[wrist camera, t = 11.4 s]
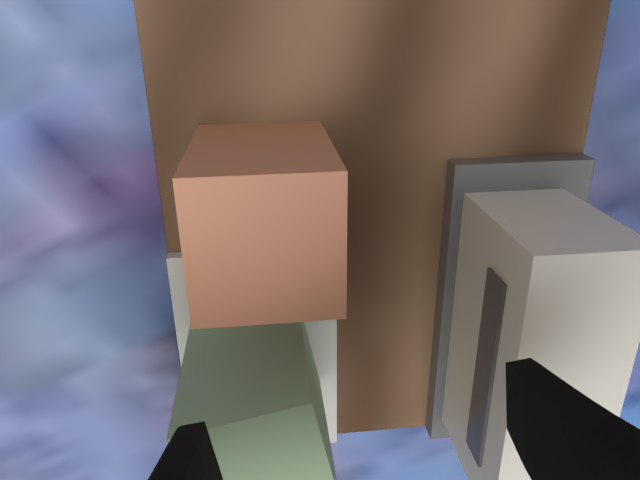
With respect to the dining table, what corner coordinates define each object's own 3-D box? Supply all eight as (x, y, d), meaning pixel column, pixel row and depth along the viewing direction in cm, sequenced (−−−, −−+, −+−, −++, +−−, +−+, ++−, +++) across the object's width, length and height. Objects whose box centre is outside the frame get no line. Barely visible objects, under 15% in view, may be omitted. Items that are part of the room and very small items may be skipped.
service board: (631, -219, 16) (653, -232, 15) (524, 401, 25) (534, 416, 24) (109, -233, 15) (100, -248, 14) (196, 429, 24) (194, 445, 23)
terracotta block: (319, 120, 18) (347, 171, 13) (321, 231, 20) (346, 318, 14) (197, 124, 18) (171, 178, 12) (209, 237, 19) (190, 329, 14)
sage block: (296, 294, 20) (312, 403, 15) (319, 379, 22) (340, 506, 16) (191, 320, 20) (166, 439, 15) (221, 403, 22) (210, 538, 16)
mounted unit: (582, 153, 20) (709, 211, 14) (534, 416, 24) (614, 535, 19) (447, 159, 19) (524, 221, 14) (425, 425, 24) (475, 550, 18)
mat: (334, 243, 20) (336, 248, 20) (335, 433, 24) (336, 442, 23) (168, 252, 19) (165, 258, 19) (194, 445, 23) (193, 455, 23)
